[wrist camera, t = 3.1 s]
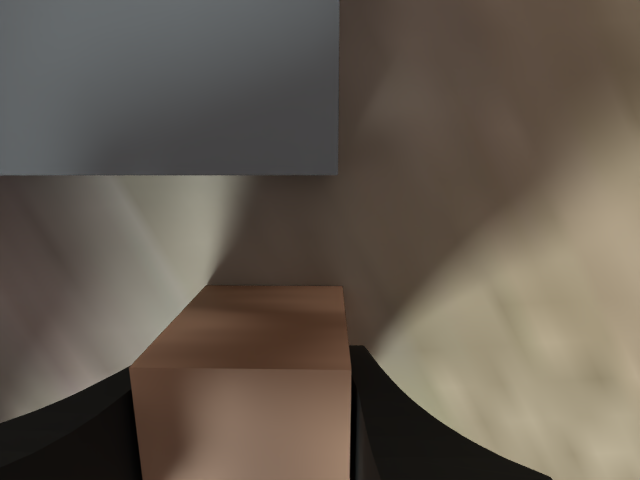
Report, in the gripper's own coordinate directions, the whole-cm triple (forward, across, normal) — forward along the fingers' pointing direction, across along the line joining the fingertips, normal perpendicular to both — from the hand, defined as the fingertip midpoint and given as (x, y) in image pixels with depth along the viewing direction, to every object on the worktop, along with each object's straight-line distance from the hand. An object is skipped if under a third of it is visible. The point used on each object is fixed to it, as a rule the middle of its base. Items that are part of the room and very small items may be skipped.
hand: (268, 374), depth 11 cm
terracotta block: (+2, 0, 0) cm, 2 cm away
